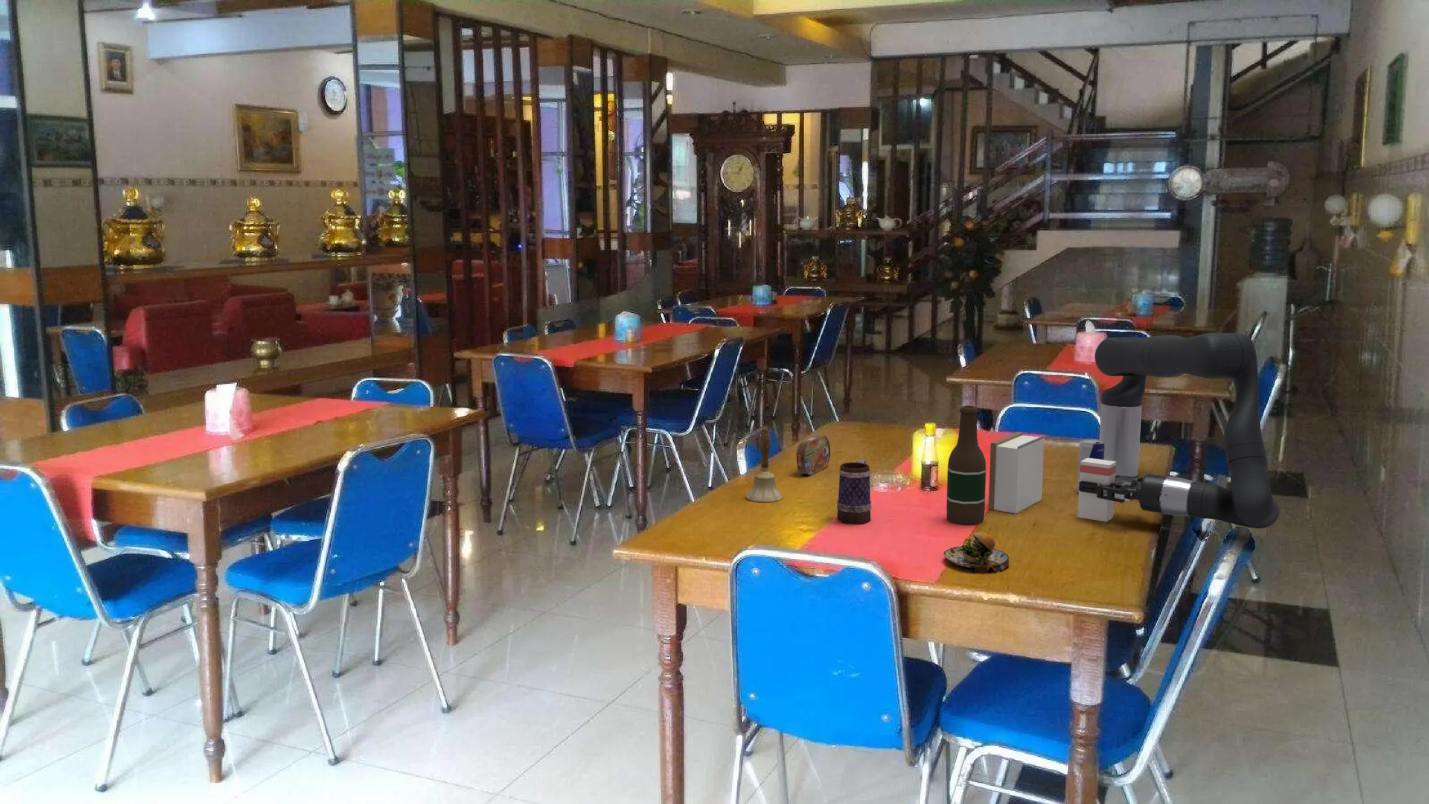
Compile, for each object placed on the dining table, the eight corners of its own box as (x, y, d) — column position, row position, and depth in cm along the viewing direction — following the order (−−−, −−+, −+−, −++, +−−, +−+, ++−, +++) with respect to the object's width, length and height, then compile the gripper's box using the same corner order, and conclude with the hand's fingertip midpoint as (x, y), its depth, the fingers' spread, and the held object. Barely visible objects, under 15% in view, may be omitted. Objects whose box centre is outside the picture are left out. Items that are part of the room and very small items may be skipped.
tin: (805, 478, 272) (806, 444, 271) (793, 477, 274) (794, 443, 272) (831, 466, 285) (831, 433, 284) (819, 464, 287) (820, 432, 285)
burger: (946, 552, 215) (947, 514, 214) (1010, 557, 212) (1012, 518, 211) (940, 571, 204) (941, 531, 203) (1007, 577, 201) (1009, 536, 199)
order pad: (1015, 495, 255) (1017, 431, 253) (1041, 499, 252) (1044, 435, 249) (988, 509, 244) (990, 442, 242) (1015, 513, 240) (1018, 446, 238)
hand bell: (788, 495, 257) (788, 426, 254) (774, 504, 249) (774, 433, 246) (754, 491, 260) (754, 423, 257) (739, 500, 253) (739, 430, 250)
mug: (864, 526, 232) (865, 469, 230) (832, 522, 235) (832, 465, 233) (879, 513, 241) (880, 458, 239) (848, 510, 244) (848, 455, 242)
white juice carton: (1084, 512, 241) (1087, 457, 239) (1113, 517, 237) (1116, 461, 235) (1077, 517, 238) (1080, 461, 236) (1106, 521, 234) (1109, 465, 232)
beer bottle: (986, 516, 238) (990, 404, 234) (982, 526, 231) (986, 410, 227) (948, 513, 241) (952, 402, 237) (943, 523, 234) (947, 408, 229)
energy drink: (1103, 496, 254) (1106, 444, 252) (1078, 495, 255) (1081, 443, 253) (1100, 490, 259) (1103, 439, 257) (1075, 489, 260) (1078, 438, 258)
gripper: (1179, 470, 232) (1097, 459, 243) (1158, 484, 221) (1073, 472, 231) (1177, 505, 234) (1095, 493, 244) (1156, 521, 223) (1071, 507, 233)
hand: (1085, 483), depth 238 cm, fingers open, 5 cm apart
